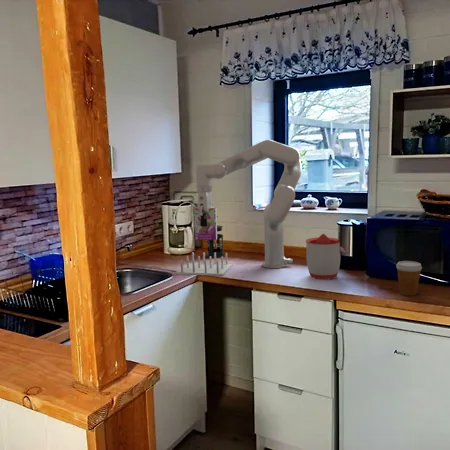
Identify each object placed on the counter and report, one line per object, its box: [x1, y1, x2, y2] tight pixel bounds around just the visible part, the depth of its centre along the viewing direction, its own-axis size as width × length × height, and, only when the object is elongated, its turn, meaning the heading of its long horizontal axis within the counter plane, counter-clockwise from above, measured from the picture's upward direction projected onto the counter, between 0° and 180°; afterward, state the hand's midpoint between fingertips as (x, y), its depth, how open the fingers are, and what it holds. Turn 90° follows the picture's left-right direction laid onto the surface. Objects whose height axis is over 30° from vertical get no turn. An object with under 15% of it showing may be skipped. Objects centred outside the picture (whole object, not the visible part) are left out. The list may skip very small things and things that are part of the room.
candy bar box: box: [193, 206, 218, 241], centre depth 229 cm, size 11×5×16 cm, turn 84°
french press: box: [206, 215, 225, 259], centre depth 257 cm, size 12×9×23 cm
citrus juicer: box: [305, 233, 346, 280], centre depth 208 cm, size 16×17×20 cm
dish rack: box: [175, 251, 234, 277], centre depth 228 cm, size 24×19×7 cm
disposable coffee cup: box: [396, 260, 423, 296], centre depth 181 cm, size 10×10×12 cm
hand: (205, 225), depth 230 cm, fingers closed on candy bar box, 5 cm apart
